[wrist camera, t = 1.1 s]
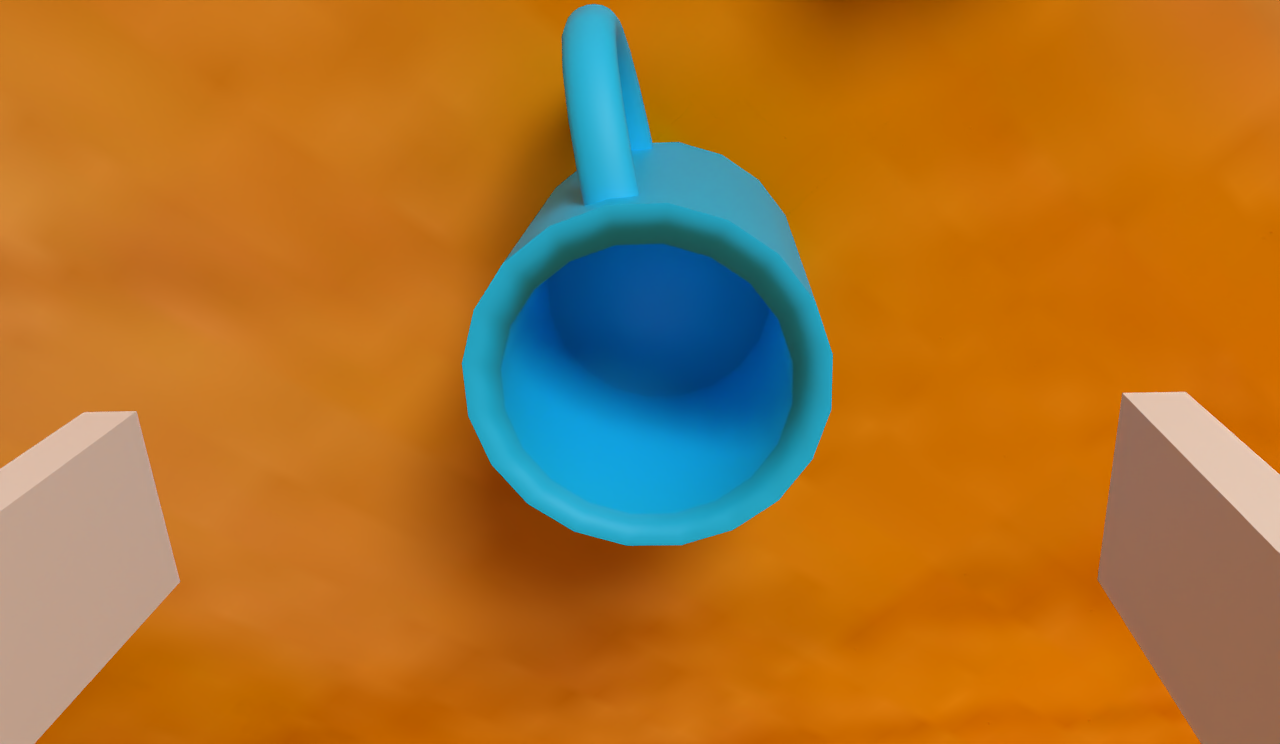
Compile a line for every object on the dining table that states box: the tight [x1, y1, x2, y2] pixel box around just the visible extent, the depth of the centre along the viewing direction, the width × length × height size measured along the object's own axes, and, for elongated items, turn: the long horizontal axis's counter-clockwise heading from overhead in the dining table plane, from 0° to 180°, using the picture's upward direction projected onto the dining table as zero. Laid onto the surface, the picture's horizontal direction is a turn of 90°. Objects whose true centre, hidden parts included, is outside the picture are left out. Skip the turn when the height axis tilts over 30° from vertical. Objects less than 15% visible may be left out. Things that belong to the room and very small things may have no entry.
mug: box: [462, 4, 833, 546], centre depth 25 cm, size 12×8×8 cm
